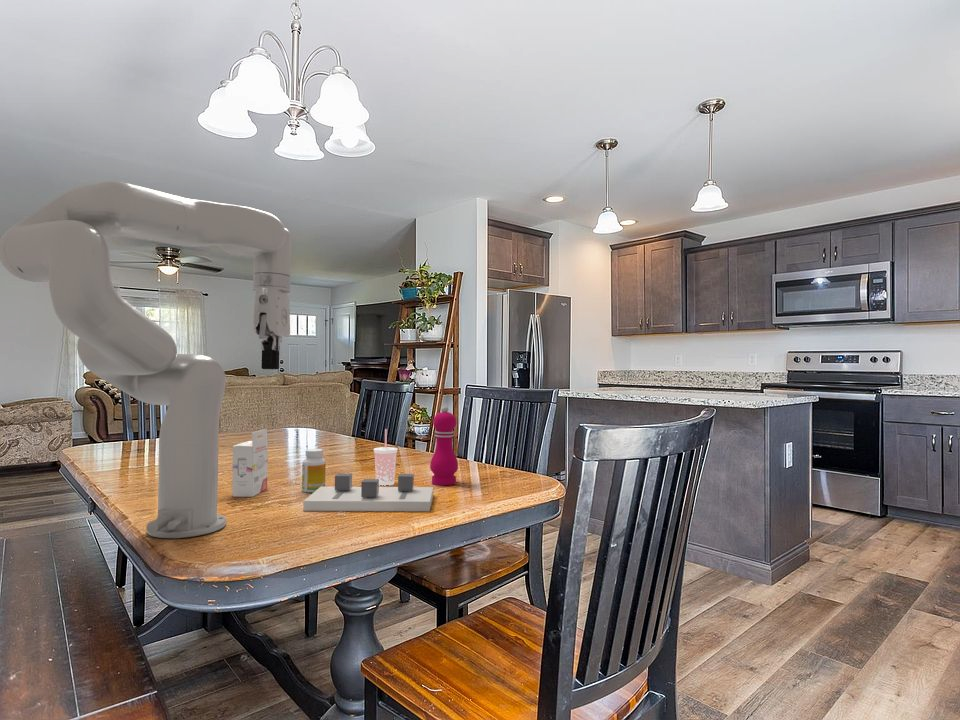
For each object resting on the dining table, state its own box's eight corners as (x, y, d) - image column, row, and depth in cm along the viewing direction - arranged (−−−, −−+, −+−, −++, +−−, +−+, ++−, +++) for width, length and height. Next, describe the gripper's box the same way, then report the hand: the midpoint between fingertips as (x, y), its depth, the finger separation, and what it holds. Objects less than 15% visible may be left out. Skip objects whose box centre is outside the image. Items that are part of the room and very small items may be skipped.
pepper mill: (462, 482, 143) (463, 405, 144) (449, 487, 137) (450, 407, 137) (438, 479, 146) (439, 404, 147) (424, 484, 140) (425, 406, 140)
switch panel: (429, 511, 114) (429, 501, 114) (303, 510, 113) (303, 500, 113) (433, 495, 128) (433, 486, 128) (320, 495, 127) (320, 486, 127)
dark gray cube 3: (412, 490, 122) (412, 476, 122) (397, 490, 122) (398, 476, 122) (413, 488, 125) (413, 473, 125) (399, 487, 125) (399, 473, 125)
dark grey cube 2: (376, 497, 116) (376, 481, 116) (361, 497, 116) (361, 481, 116) (378, 493, 119) (378, 479, 119) (363, 493, 119) (364, 478, 119)
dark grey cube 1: (349, 490, 122) (349, 476, 122) (334, 490, 121) (334, 476, 122) (351, 487, 125) (352, 473, 125) (337, 487, 124) (337, 473, 125)
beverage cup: (390, 487, 136) (391, 430, 137) (368, 485, 138) (369, 429, 138) (401, 482, 142) (401, 428, 142) (379, 480, 144) (380, 427, 144)
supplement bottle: (329, 489, 133) (330, 449, 133) (313, 493, 128) (314, 452, 128) (313, 487, 135) (314, 447, 135) (296, 491, 130) (297, 450, 131)
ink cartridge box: (247, 488, 133) (248, 427, 133) (267, 489, 132) (269, 428, 133) (230, 497, 124) (232, 431, 124) (252, 497, 124) (253, 432, 124)
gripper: (277, 278, 111) (276, 369, 111) (299, 289, 126) (298, 369, 126) (240, 278, 111) (238, 369, 110) (266, 289, 126) (265, 369, 125)
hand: (270, 369), depth 118 cm, fingers closed
